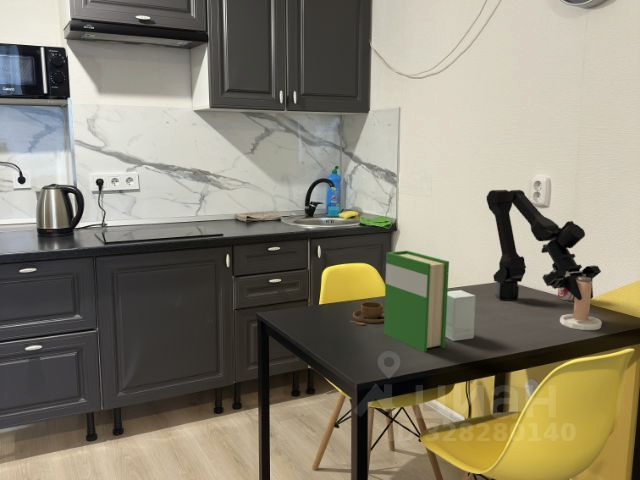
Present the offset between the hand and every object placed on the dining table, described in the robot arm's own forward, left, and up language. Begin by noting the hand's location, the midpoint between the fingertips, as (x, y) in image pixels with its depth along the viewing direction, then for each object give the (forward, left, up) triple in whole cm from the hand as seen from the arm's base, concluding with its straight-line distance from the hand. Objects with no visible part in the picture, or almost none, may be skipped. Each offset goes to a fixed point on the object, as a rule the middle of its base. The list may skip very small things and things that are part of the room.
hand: (586, 298), depth 187 cm
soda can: (+8, +31, -9) cm, 33 cm away
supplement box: (-42, -11, -9) cm, 44 cm away
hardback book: (-55, -15, -9) cm, 58 cm away
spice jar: (-1, +1, -7) cm, 7 cm away
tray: (-1, +1, -8) cm, 9 cm away
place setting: (-62, +4, -9) cm, 63 cm away
